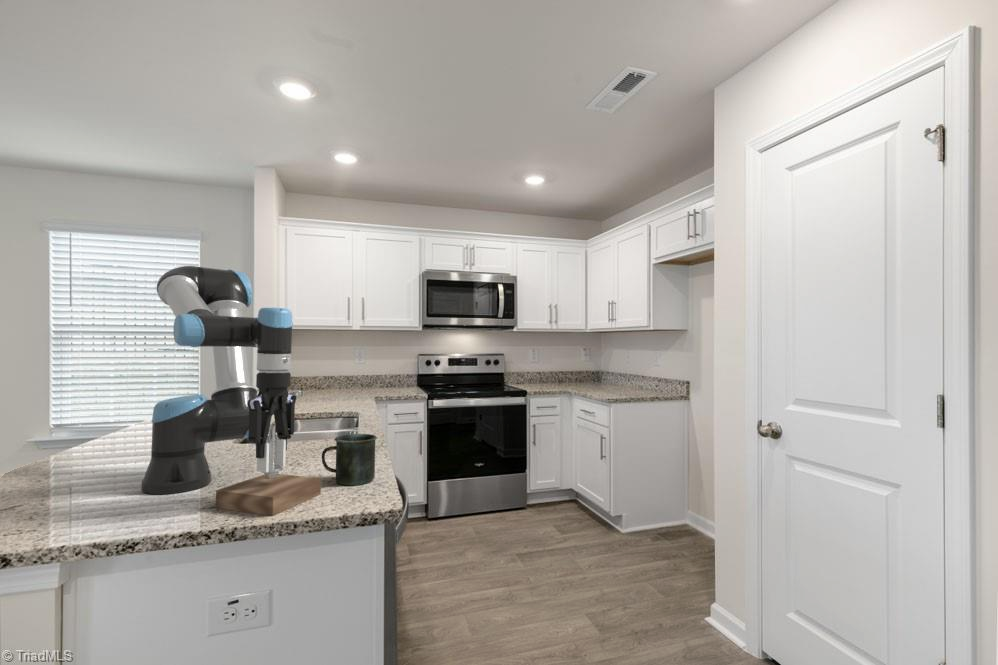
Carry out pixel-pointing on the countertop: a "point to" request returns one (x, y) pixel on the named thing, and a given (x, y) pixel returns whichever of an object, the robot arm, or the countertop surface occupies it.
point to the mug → (353, 459)
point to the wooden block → (268, 494)
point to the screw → (272, 455)
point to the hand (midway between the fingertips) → (271, 468)
